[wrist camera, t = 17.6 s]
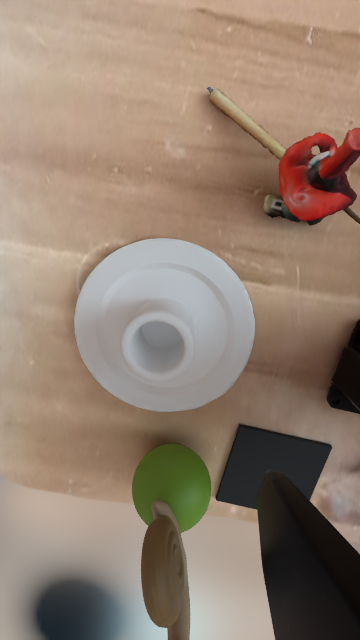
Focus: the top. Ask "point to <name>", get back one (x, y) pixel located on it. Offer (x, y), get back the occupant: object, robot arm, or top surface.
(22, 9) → the top surface
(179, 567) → the snail figurine
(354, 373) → the robot arm
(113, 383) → the candle holder
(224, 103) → the toy figure
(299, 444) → the coaster
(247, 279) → the top surface
